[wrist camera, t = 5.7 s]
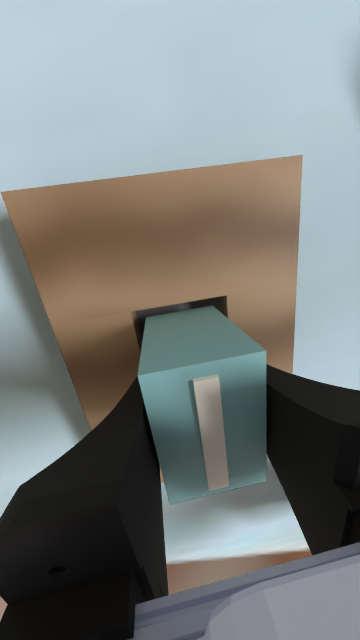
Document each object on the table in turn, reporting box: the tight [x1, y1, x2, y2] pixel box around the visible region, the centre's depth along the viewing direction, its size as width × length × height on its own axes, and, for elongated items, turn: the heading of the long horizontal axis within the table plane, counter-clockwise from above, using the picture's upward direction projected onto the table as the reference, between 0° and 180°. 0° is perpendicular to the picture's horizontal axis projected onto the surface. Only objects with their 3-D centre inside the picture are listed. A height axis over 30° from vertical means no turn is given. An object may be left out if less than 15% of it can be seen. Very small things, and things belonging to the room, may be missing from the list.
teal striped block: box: [138, 305, 267, 505], centre depth 10 cm, size 6×4×6 cm, turn 8°
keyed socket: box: [1, 155, 302, 482], centre depth 13 cm, size 20×14×2 cm
